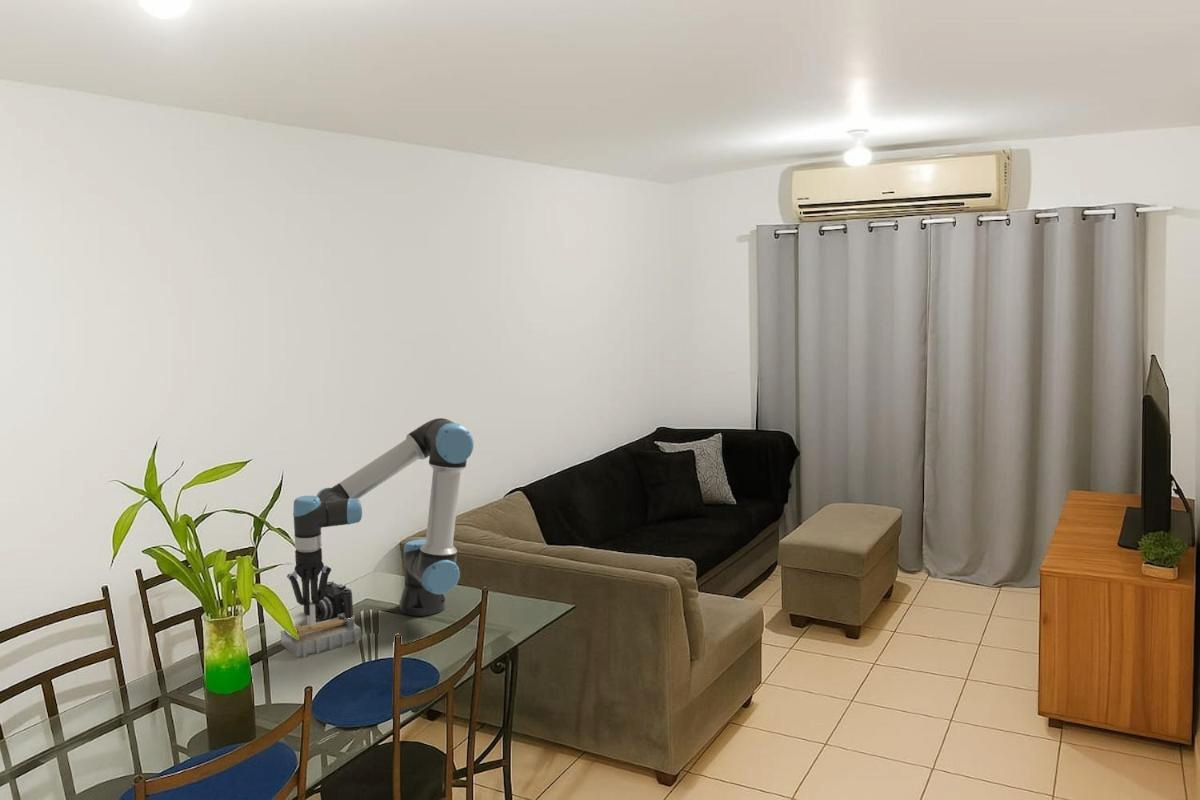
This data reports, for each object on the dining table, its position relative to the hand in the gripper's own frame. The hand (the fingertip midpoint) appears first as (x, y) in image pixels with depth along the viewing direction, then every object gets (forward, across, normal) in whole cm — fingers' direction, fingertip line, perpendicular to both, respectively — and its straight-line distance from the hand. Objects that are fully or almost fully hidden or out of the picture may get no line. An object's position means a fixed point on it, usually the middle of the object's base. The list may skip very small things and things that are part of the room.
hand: (311, 624), depth 279 cm
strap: (+2, -3, 0) cm, 4 cm away
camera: (+7, -14, -18) cm, 24 cm away
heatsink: (+6, -3, 0) cm, 7 cm away
